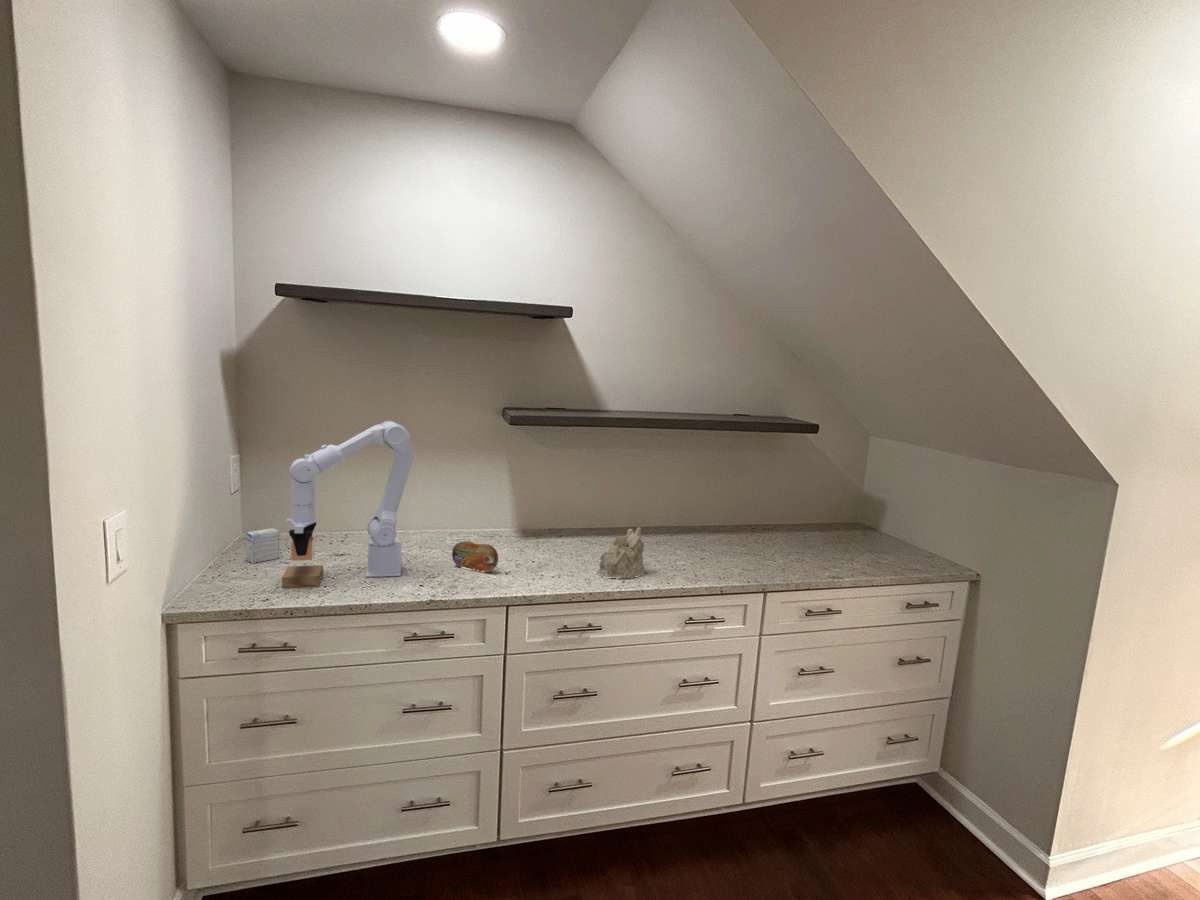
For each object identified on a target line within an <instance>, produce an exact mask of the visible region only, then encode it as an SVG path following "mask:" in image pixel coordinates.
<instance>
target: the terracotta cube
mask: <svg viewBox="0 0 1200 900" xmlns="http://www.w3.org/2000/svg"><path fill="white" fill-rule="evenodd" d="M290 554H291V559H290V560H291V561H312V560H313V558H314V556H315V536H312V537H310V538H309V542H308V548H307V553H306V555H305V556H297V553H296V549H295V545H294V542H293V540H291V553H290Z"/></svg>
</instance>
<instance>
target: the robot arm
mask: <svg viewBox="0 0 1200 900" xmlns="http://www.w3.org/2000/svg"><path fill="white" fill-rule="evenodd" d="M371 444H373V445H374V444H376V445H384V444H385V445H387V446H388V447H389V449H390V451H391V452H392V454H393V455H394V459H393V462H392V465H391V468H390V472H389V474H388V478H387V481H386V484H385V487H384V491H383V494H382V497H381V501H380V503H379V506H378V508H377V510H376V511H375V512H374V515H373V517H372V518H371V519H370V521H369V522H368V524H367V527H366V528H367V529H366V530H367V533H368V534H369V535H370V538H369V540H368V541H367V542H368V543H367V544H368V545H367V546H368V547H367V568H366V571H365V578H377V577H379V578H380V577H400V576H402V568H403V561H402V542H397V541H396V537H397V530H396V526H397V523H398V520H397V513H398V509H399V507H400V504H401V500H402V496H403V493H404V489H405V487H406V483H407V481H408V477H409V475H410V471H411V467H412V465H413V461H414V458H415V451H414V448H413V444H412V440H411V434H410V433H409V432H408V430H407V429H406V427H404V426H403V425H402V424H400V423H396V422H395V421H393V420H385V421H383V422H382V423H380V424H379V423H378V424H375V425H373V426H371V427H369V428H367V429H366V430H364V431H362V432H360V433H358V434H356V435H355V436H353V437H351V438H349V439H348V440H345V441H344V442H342V443H340V444H338V445H334V444H328V445H327V444H323V445H321V446H320V449H318V450H316V451H315V452H312V453H311V454H308V453H307V454H304V457H303V458H297V459H295V460H294V461H293V462H292V464H291V465H290V468H289V473H290V474H291V476H292V478H291V489H290V498H291V499H290V500H291V501H290V502H291V503H290V504H291V505H290V506H291V507H290V509H291V514H290V515H291V517H290V518H287V519H286V523H287V524H289V523H290V524H291V525H292V526H293V527H294V529H290V530H289V531H288V534H289V536H290V538H291V539H292V541H293V542H294V545H295V549H296V553H297V556H305V555H306V553H307V548H308V542H309V538H310V537H313V532H314V530H315V527H316V526H317V522H316V513H315V509H316V501H315V500H316V499H315V498H316V495H315V493H316V491H315V490H316V489H315V487H316V486H315V478H316V476H317V475H319V474H321V473H324V472H327V470H331V469H332V468H333V467H336V466H337V465H340V464H342V462H343V459H344V457H345V456H346V455H350V454H351V453H354V452H355V451H358V450H359V449H362V448H364V447H367V446H368V445H371Z"/></svg>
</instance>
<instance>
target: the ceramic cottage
mask: <svg viewBox="0 0 1200 900" xmlns="http://www.w3.org/2000/svg"><path fill="white" fill-rule="evenodd" d="M641 530H642V528H641V527H637V528H636V530H635V531H634V530H633V529H632V528H628V529H627V531H626V535H622V536H616V538H615V540H614V542H613V543H612V544H611V545H610V547H609V549H608V551H606V552H605V551H604V552H603V553H602V555H601V556H600V557H599V559H600V562H599V568H598V569H597V571H596V573H597V572H598V573H600V574H601V575H603V576H605V577H620V578H629V577H635V576H639V575H642V574H643V573H644V574H645V567H644V565H643V564H644V557H643V551H644V548H645V544H644V543H643V542H642V540H641V536H642V534H641ZM598 573H597V574H598ZM601 575H600V576H601Z"/></svg>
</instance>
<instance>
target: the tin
mask: <svg viewBox="0 0 1200 900" xmlns="http://www.w3.org/2000/svg"><path fill="white" fill-rule="evenodd" d="M451 557H452V560H453V563H454V564H455V566H457V567H458V566H459V567H466V568H470V569H475V570H479V571H484V572H486V573H489V572H491V571H493V570H494V569H495V568H496V567H497V566H498V562H499V553H498V552H497V549H496V548H495V547H494V546H492V545H491V544H487V543H482V542H476V541H471V540H470V541H469V540H466V541H465V540H464V541H460V542H458V543H456V544H455V545H454V546H453V549H452V553H451ZM459 567H458V568H459Z"/></svg>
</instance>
